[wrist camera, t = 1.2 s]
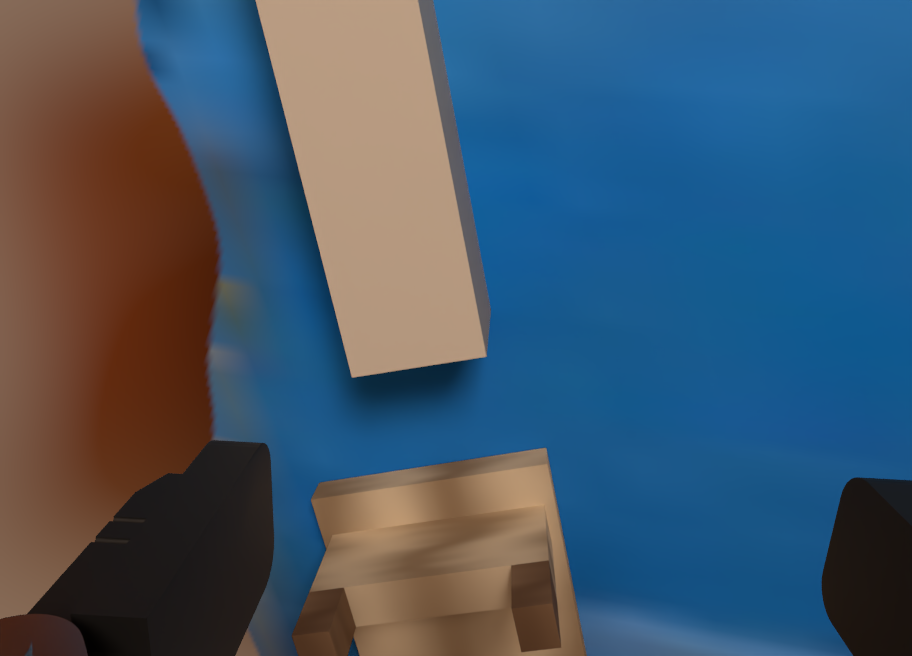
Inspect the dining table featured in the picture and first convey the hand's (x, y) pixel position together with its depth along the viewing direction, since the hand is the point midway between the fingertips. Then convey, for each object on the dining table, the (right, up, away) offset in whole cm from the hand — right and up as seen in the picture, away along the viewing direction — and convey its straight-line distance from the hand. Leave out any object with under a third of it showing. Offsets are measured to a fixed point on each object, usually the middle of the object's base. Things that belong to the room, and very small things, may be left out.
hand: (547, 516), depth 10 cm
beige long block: (-4, +12, +19) cm, 22 cm away
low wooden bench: (0, -13, +26) cm, 29 cm away
